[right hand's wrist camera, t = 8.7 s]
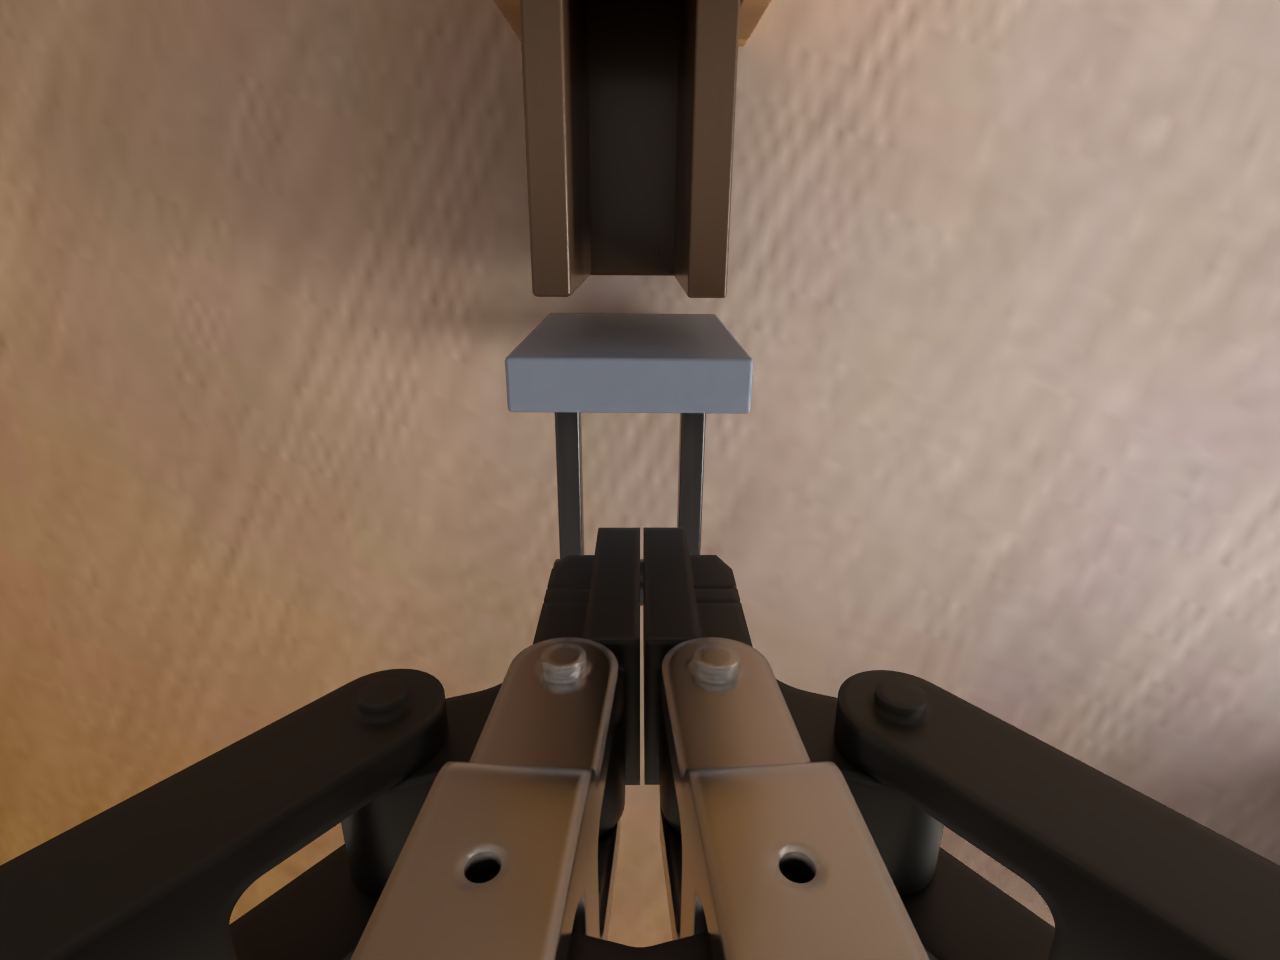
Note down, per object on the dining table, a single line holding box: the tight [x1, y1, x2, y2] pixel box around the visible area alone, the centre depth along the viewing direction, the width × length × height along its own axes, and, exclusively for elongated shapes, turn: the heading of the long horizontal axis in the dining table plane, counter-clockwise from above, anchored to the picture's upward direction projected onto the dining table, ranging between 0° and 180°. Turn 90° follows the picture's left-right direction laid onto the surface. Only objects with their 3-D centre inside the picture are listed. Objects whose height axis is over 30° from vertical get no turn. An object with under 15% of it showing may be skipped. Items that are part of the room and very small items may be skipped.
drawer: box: [505, 0, 753, 605], centre depth 17 cm, size 24×5×8 cm, turn 0°
